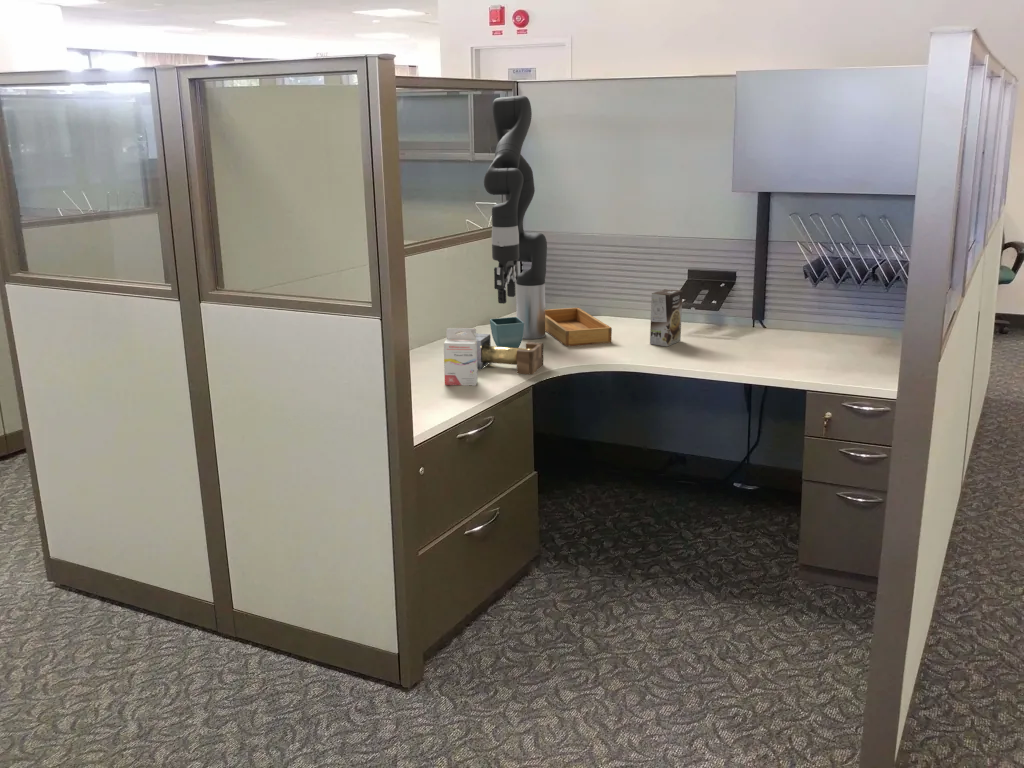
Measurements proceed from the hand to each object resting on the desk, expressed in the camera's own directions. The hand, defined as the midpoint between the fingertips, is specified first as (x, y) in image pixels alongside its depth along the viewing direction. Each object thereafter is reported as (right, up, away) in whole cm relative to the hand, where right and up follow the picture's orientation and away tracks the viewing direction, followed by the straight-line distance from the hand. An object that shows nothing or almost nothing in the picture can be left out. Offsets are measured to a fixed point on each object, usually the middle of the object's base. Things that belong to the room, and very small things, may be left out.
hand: (506, 299), depth 257 cm
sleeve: (-10, -18, +6) cm, 22 cm away
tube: (0, -19, +3) cm, 19 cm away
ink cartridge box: (-12, -24, -11) cm, 29 cm away
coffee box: (+49, -11, +28) cm, 58 cm away
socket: (+7, -20, +1) cm, 21 cm away
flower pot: (0, -13, +23) cm, 27 cm away
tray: (+21, -8, +42) cm, 47 cm away
